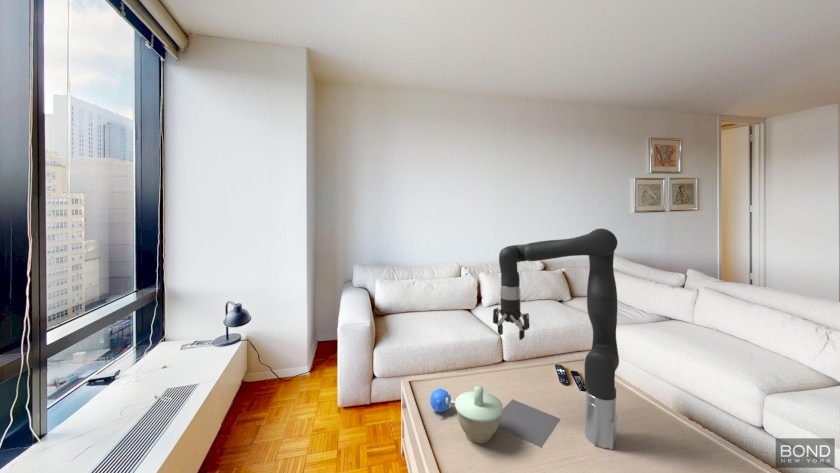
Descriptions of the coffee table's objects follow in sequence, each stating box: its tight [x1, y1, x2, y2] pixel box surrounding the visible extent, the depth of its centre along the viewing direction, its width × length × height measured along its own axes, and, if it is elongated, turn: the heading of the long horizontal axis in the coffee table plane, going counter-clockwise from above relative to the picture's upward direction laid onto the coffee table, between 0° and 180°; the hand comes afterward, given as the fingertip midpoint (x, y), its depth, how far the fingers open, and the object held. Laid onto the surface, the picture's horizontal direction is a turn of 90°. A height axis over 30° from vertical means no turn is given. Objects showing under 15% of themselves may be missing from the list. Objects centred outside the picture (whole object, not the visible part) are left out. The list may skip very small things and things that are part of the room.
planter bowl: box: [456, 411, 500, 444], centre depth 115 cm, size 16×16×11 cm
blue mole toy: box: [429, 388, 456, 413], centre depth 130 cm, size 12×12×8 cm
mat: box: [498, 399, 561, 448], centre depth 123 cm, size 20×20×1 cm
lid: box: [454, 385, 504, 422], centre depth 115 cm, size 17×17×7 cm
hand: (510, 336), depth 125 cm, fingers open, 8 cm apart
